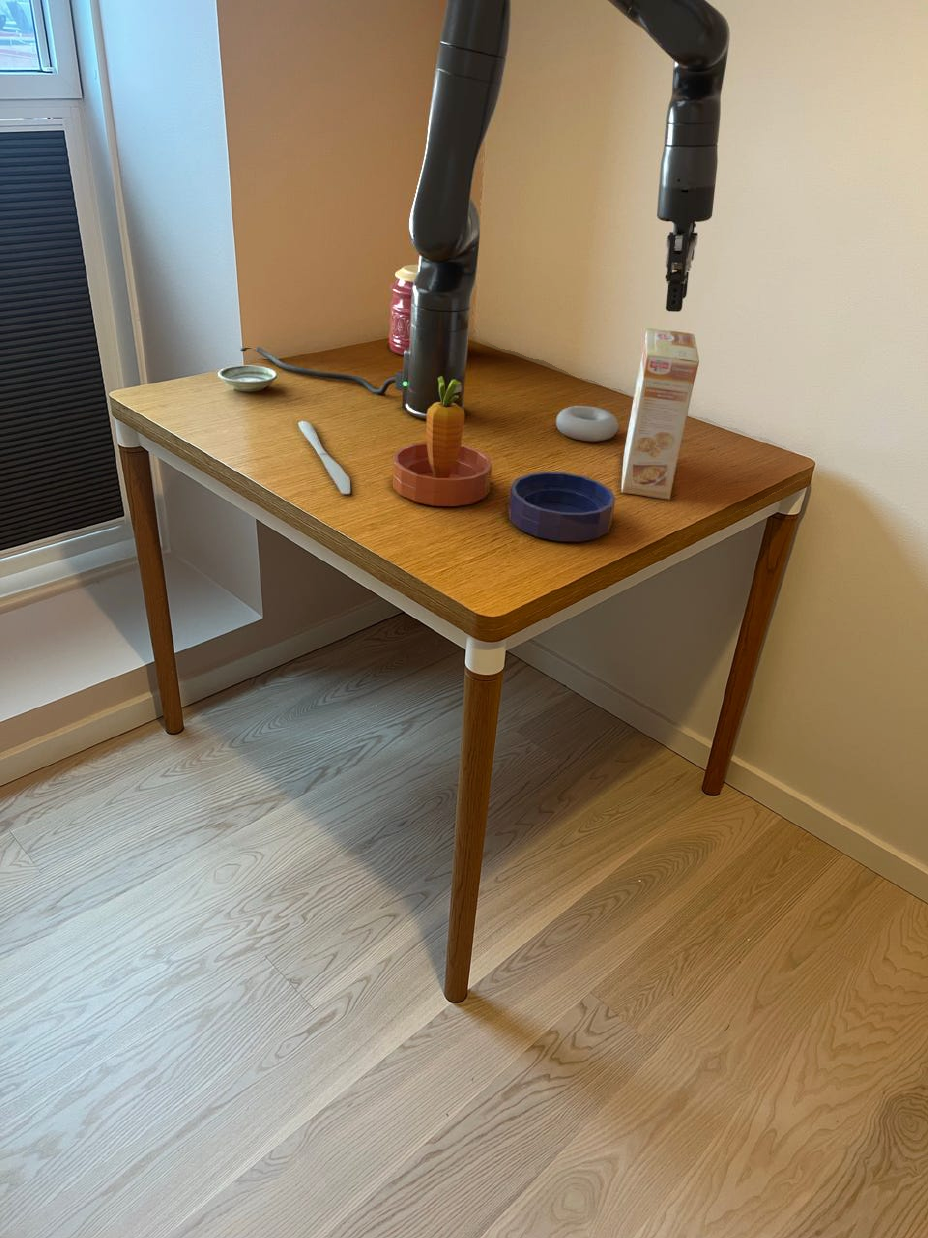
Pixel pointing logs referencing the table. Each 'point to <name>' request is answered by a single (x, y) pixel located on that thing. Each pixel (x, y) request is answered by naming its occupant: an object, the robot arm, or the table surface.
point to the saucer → (247, 377)
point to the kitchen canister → (401, 309)
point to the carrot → (444, 431)
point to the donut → (587, 423)
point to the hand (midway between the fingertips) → (676, 304)
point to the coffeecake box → (659, 412)
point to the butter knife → (326, 458)
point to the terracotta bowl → (423, 487)
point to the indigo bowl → (561, 506)
